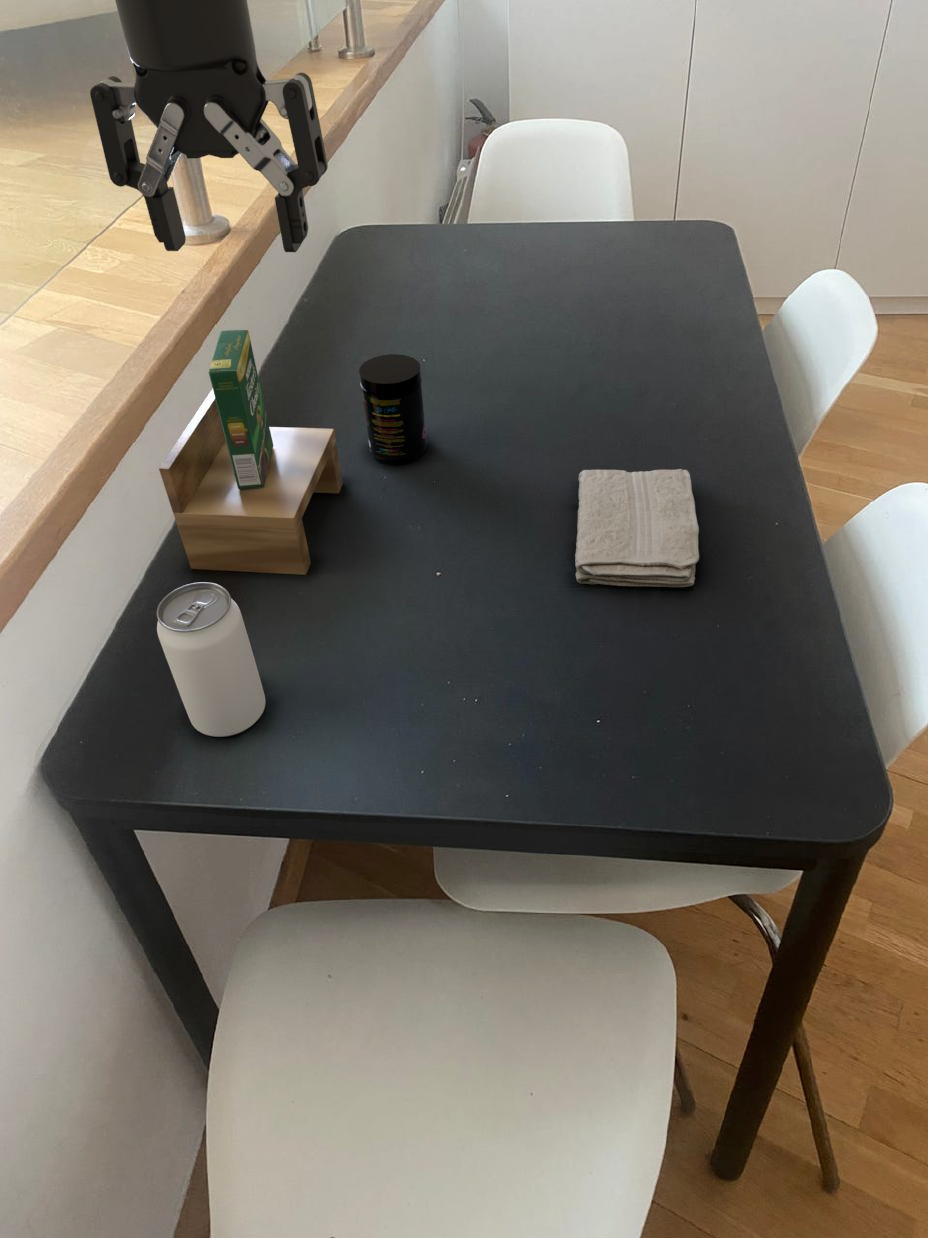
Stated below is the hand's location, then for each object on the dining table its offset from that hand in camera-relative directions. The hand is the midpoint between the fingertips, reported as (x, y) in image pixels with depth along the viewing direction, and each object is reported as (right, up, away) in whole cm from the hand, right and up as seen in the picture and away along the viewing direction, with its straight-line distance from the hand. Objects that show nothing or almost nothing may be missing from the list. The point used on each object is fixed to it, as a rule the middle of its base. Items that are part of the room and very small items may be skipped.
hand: (235, 247), depth 64 cm
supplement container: (+8, -6, +43) cm, 44 cm away
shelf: (-5, -16, +34) cm, 37 cm away
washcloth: (+33, -17, +29) cm, 48 cm away
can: (-4, -34, +14) cm, 37 cm away
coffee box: (-5, -11, +29) cm, 31 cm away
